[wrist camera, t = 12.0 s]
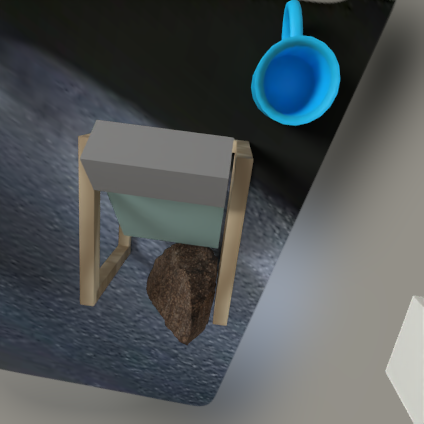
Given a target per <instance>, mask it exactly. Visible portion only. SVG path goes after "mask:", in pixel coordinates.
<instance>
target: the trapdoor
mask: <svg viewBox="0 0 424 424" xmlns="http://www.w3.org/2000/svg"><path fill="white" fill-rule="evenodd" d="M233 141H234V138H231V137H224V136H216V135H209V134H201V133H193V132H186V131H178V130H170V129H163V128H155V127H148V126H140V125H132V124H125V123H117V122H109V121H102V120H96V122H95V125H94V127H93V129H92V131H91V134H90V136H89V138H88V141H87V143H86V145H85V147H84V150H83V152H82V154H81V157H80V161H81V163H82V165H83V167H84V170H85V172H86V174H87V176H88V178H89V181H90V183H91V185H92V187H93V189H94V190H97V191H104V192H107V194H108V196H109V199H110V201H111V204H112V206H113V209H114V212H115V214H116V217H117V219H118V222H119V224H120V227H121V229H122V232H123V234H124V235H126V236H133V237H140V238H147V239H154V240H161V241H169V242H176V243H183V244H190V245H197V246H204V247H211V248H218V245H219V238H220V232H221V225H222V218H223V211H224V206H225V199H226V192H227V186H228V179H229V171H230V164H231V156H232V149H233Z"/></svg>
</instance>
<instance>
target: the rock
mask: <svg viewBox="0 0 424 424" xmlns="http://www.w3.org/2000/svg"><path fill="white" fill-rule="evenodd" d="M214 254H215V253H214V251H213V250H212V249H211V248H209V247H204V246H197V245H190V244H183V243H176V244H174V245H172V246H171V247H170V248H167V249H165V251H164V252H163V254H162V255H161V256H159V257H158V258H157V259H156V260H155V263H154V266H153V268H152V270H151V272H150V274H149V277H148V280H147V288H146V290H147V294H148V296H149V299H150V300H151V301H152V304H153V305H154V306H155V307H156V309H157V310H158V312H159V313H160V315H161V316H162V317H163V318H164V320H165V325H166V327H167V328H168V329H170V330H171V331H172V332H173V334H174V336H175V337H176V338H178V340H179V342H181V343H183V344H186V345H188V344H189V343H190V342H191V341H192V340H193V339H194V338H196V337H197V336H198V335H199V334H200V333H202V332H203V331H204V329H205V327H206V324H208V321H209V316H210V311H211V307H212V303H213V299H214V295H215V287H216V277H217V271H218V269H217V265H218V264H217V262H218V258H217V256H215V255H214Z"/></svg>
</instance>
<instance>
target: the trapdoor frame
mask: <svg viewBox="0 0 424 424" xmlns="http://www.w3.org/2000/svg"><path fill="white" fill-rule="evenodd" d="M90 134H91V133H90ZM90 134H86V135H81V136H78V158H79V248H80V304H82V305H88V306H94V305H95V304H96V302H97V301H98V299H99V298H100V296H101V295H102V294H103V292H104V291H105V289H106V288H107V286H108V285H109V283H110V282H111V281H112V279H113V278H114V276H115V275H116V273H117V272H118V270H119V269H120V267H121V266H122V265H123V263H124V262H125V260H126V259H127V257H128V256H129V254H130V253H131V236H126V235H124V234H123V232H122V229H121V227H120V224H119V244H118V246H117V247H116V249H115V250H114V251H113V252H112V254H111V255H110V256H109V257H108V258H107V260H106V261H105V262H104V263H103V265H102V266H101V267H100V268H99V262H100V191H97V190H94V189H93V187H92V185H91V183H90V181H89V178H88V176H87V174H86V172H85V170H84V167H83V165H82V163H81V161H80V157H81V154H82V152H83V150H84V147H85V145H86V143H87V141H88V138H89V136H90ZM232 153H235V157H234V164H233V171H232V178H231V185H230V192H229V199H228V206H227V213H226V220H225V227H224V234H223V241H222V248H221V255H220V262H219V270H218V279H217V288H216V297H215V307H214V316H213V324H218V325H224V326H227V320H228V314H229V307H230V301H231V295H232V289H233V283H234V277H235V270H236V264H237V258H238V252H239V246H240V240H241V233H242V227H243V221H244V215H245V209H246V203H247V196H248V190H249V184H250V178H251V172H252V166H253V156H252V152H251V148H250V145H249V142H248V141H240V140H234V141H233V149H232Z"/></svg>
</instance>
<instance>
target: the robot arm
mask: <svg viewBox="0 0 424 424" xmlns="http://www.w3.org/2000/svg"><path fill="white" fill-rule="evenodd" d="M385 372H386V374H387V375H388V377H389V379H390V381H391V383H392V385H393V386H394V388H395V390H396V392H397V394H398V396H399V397H400V399H401V401H402V403H403V405H404V407H405V409H406V410H407V412H408V414H409V416H410V418H411V420H412V421H413V423H414V424H424V297H419V296H413V298H412V301H411V303H410V306H409V309H408V311H407V314H406V317H405V320H404V322H403V325H402V328H401V330H400V333H399V336H398V338H397V341H396V344H395V346H394V349H393V352H392V355H391V357H390V360H389V363H388V365H387V368H386V371H385Z"/></svg>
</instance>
